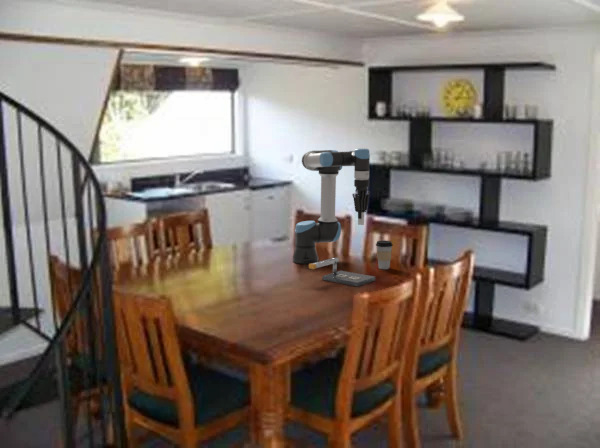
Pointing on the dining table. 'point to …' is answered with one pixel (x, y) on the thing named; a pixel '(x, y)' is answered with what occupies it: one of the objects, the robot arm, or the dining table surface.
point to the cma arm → (323, 263)
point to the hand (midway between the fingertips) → (360, 224)
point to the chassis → (348, 277)
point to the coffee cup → (384, 254)
